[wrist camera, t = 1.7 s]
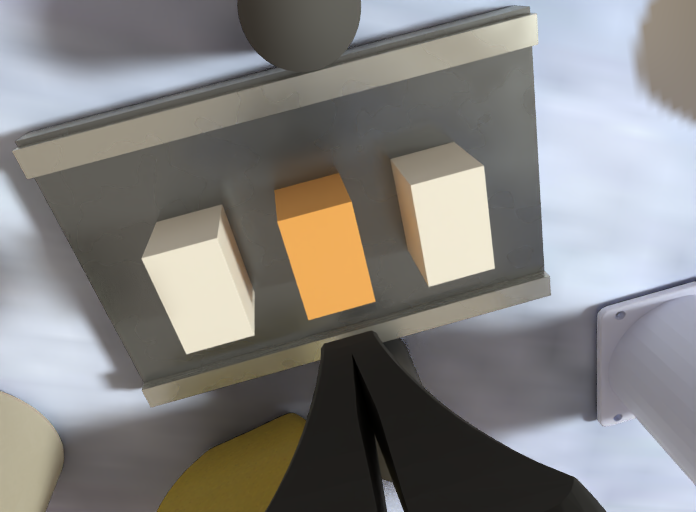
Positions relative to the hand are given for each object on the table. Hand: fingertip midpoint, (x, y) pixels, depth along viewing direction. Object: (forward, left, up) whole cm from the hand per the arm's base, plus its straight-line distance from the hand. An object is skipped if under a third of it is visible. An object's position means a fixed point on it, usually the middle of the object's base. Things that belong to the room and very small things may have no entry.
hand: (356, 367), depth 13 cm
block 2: (0, 0, -9) cm, 9 cm away
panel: (0, 0, -10) cm, 10 cm away
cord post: (-1, -8, -10) cm, 13 cm away
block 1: (+4, 0, -9) cm, 10 cm away
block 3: (-5, 0, -9) cm, 10 cm away
